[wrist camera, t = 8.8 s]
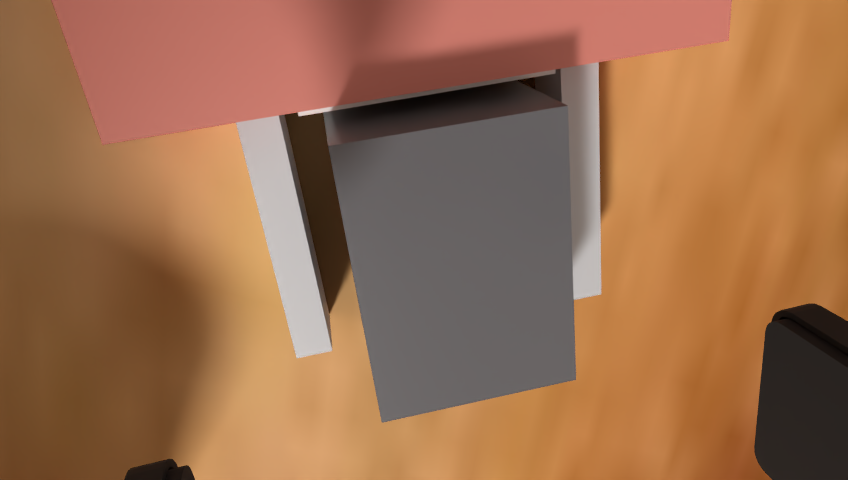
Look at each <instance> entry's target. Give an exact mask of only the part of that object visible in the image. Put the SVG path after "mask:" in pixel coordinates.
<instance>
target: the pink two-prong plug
mask: <svg viewBox="0 0 848 480" xmlns="http://www.w3.org/2000/svg"><path fill="white" fill-rule="evenodd" d="M51 1H52V3H53V6H54V9H55V12H56V15H57V17H58V20H59V23H60V26H61V29H62V32H63V34H64V37H65V40H66V43H67V46H68V48H69V51H70V54H71V57H72V60H73V63H74V65H75V68H76V71H77V74H78V77H79V80H80V82H81V85H82V88H83V91H84V94H85V96H86V99H87V102H88V105H89V108H90V111H91V113H92V116H93V119H94V122H95V125H96V127H97V130H98V133H99V136H100V139H101V142H102V144H103V145H104V144H110V143H116V142H122V141H128V140H134V139H140V138H146V137H152V136H158V135H164V134H170V133H176V132H182V131H188V130H194V129H200V128H207V127H213V126H219V125H225V124H231V123H236V125H237V129H238V133H239V137H240V140H241V144H242V148H243V152H244V156H245V160H246V164H247V168H248V171H249V175H250V179H251V183H252V187H253V191H254V195H255V198H256V202H257V206H258V210H259V214H260V218H261V222H262V226H263V229H264V233H265V237H266V241H267V245H268V249H269V253H270V256H271V260H272V264H273V268H274V272H275V276H276V280H277V284H278V287H279V291H280V295H281V299H282V303H283V307H284V311H285V314H286V318H287V322H288V326H289V330H290V334H291V338H292V342H293V345H294V349H295V353H296V357H297V358H300V357H305V356H310V355H315V354H319V353H324V352H329V351H332V340H331V327H330V315H329V311H328V306H327V302H326V297H325V293H324V288H323V284H322V279H321V275H320V270H319V266H318V262H317V257H316V253H315V248H314V244H313V239H312V235H311V230H310V226H309V221H308V217H307V212H306V208H305V204H304V199H303V195H302V190H301V186H300V181H299V177H298V172H297V168H296V163H295V159H294V154H293V150H292V146H291V141H290V137H289V132H288V128H287V123H286V119H285V114H291V113H297V112H298V115H299V116H304V115H310V114H316V113H322V112H328V111H334V110H340V109H346V108H352V107H358V106H364V105H370V104H376V103H382V102H388V101H394V100H400V99H406V98H412V97H418V96H424V95H430V94H436V93H442V92H448V91H454V90H460V89H466V88H472V87H478V86H484V85H490V84H496V83H502V82H508V81H514V80H520V79H526V78H532V77H534V79H535V90H537V91H539V92H541V93H543V94H545V95H547V96H549V97H552V98H554V99H556V100H558V101H560V102H562V103H564V104H566V105H568V122H569V157H570V192H571V226H572V261H573V296H574V300H576V299H581V298H585V297H590V296H595V295H600V294H601V233H600V145H599V62H603V61H609V60H615V59H621V58H627V57H633V56H639V55H645V54H651V53H657V52H663V51H669V50H675V49H681V48H687V47H693V46H699V45H705V44H711V43H717V42H723V41H729V30H730V16H731V2H732V0H51Z"/></svg>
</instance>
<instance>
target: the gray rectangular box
mask: <svg viewBox="0 0 848 480" xmlns="http://www.w3.org/2000/svg"><path fill="white" fill-rule="evenodd" d="M323 115H324V122H325V129H326V135H327V142H328V148H329V154H330V159H331V164H332V169H333V174H334V179H335V184H336V190H337V195H338V200H339V205H340V210H341V215H342V220H343V225H344V231H345V236H346V241H347V246H348V251H349V256H350V261H351V267H352V272H353V277H354V282H355V287H356V292H357V297H358V302H359V308H360V313H361V318H362V323H363V328H364V333H365V338H366V344H367V349H368V354H369V359H370V364H371V369H372V374H373V379H374V385H375V390H376V395H377V400H378V405H379V410H380V415H381V420H382V422H387V421H391V420H396V419H400V418H405V417H409V416H414V415H419V414H423V413H428V412H432V411H437V410H441V409H446V408H450V407H455V406H459V405H464V404H468V403H473V402H477V401H482V400H486V399H491V398H495V397H500V396H504V395H509V394H513V393H518V392H522V391H527V390H531V389H536V388H540V387H545V386H549V385H554V384H558V383H563V382H567V381H572V380H576V365H575V330H574V296H573V261H572V226H571V192H570V157H569V122H568V105H566V104H564V103H562V102H560V101H558V100H556V99H554V98H552V97H549V96H547V95H545V94H543V93H541V92H539V91H537V90H535V89H533V88H531V87H529V86H527V85H525V84H523V83H521V82H519V81H517V80H514V81H508V82H502V83H496V84H490V85H484V86H478V87H472V88H466V89H460V90H454V91H448V92H442V93H436V94H430V95H424V96H418V97H412V98H406V99H400V100H394V101H388V102H382V103H376V104H370V105H364V106H358V107H352V108H346V109H340V110H334V111H328V112H323Z"/></svg>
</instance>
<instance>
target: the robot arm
mask: <svg viewBox="0 0 848 480" xmlns="http://www.w3.org/2000/svg"><path fill="white" fill-rule="evenodd" d="M754 448H755V455H756V458H757V461H758V463H759V465H760V466H761V468H762V469H763V470H764V472H765V473H766V474H767V475H768V476H769V477H770V478H771V479H772V480H848V321H846V320H844V319H843V318H841V317H839V316H837V315H836V314H834V313H832V312H830V311H829V310H827V309H825V308H823V307H822V306H819V305H817V304H805V305H801V306H797V307H793V308H789V309H785V310H781V311H779V312H777V313H775V315H774V316H773V318H772V322H771V323H769V324H768V325H767V327H766V331H765V342H764V352H763V363H762V373H761V384H760V394H759V405H758V415H757V426H756V436H755V447H754ZM124 480H195V478H194V476H193V473H192V471H191V469H190V467H189V466H187V465H186V466H182V467H177V464H176V463H175V461H174V460H173V459H167V460H163V461H159V462H155V463H150V464H146V465H142V466H138V467H134V468H131V469H130V470H128V472H127V474H126V476H125V479H124Z"/></svg>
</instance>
